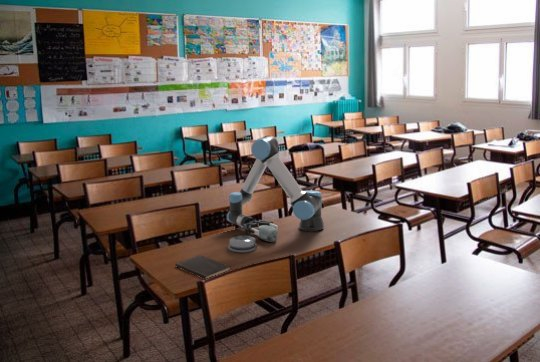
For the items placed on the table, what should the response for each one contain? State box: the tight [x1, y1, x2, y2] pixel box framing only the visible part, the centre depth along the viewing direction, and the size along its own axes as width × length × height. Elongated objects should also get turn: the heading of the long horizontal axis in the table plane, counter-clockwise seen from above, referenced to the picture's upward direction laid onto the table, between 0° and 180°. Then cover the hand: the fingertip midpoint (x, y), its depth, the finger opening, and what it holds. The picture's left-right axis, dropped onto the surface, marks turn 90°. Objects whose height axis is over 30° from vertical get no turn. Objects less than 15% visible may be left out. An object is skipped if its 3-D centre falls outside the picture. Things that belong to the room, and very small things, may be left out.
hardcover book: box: [175, 254, 231, 280], centre depth 256 cm, size 16×23×2 cm
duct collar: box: [227, 235, 258, 254], centre depth 283 cm, size 16×16×5 cm
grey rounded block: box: [256, 225, 278, 243], centre depth 295 cm, size 14×10×10 cm
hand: (268, 230), depth 293 cm, fingers open, 13 cm apart
